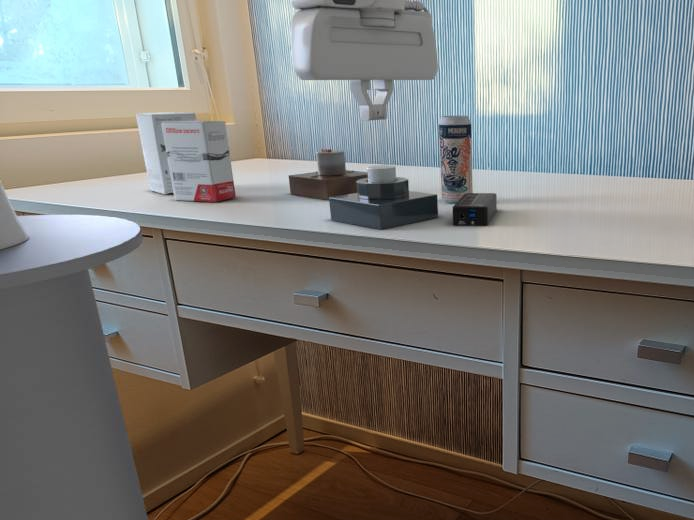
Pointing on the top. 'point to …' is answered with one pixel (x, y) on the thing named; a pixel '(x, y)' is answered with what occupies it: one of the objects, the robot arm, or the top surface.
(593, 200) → the top surface
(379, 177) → the white short cylinder
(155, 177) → the white packaging box
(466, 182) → the coffee can
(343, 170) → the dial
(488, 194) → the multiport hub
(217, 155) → the ink box
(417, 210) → the push button base
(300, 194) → the brown rectangular block
